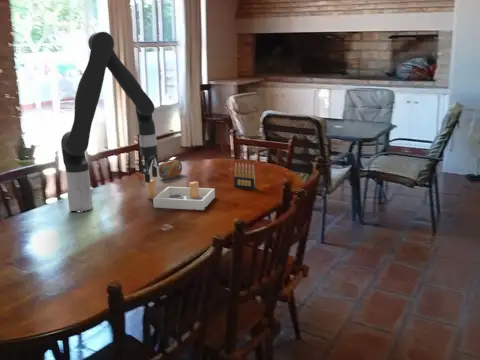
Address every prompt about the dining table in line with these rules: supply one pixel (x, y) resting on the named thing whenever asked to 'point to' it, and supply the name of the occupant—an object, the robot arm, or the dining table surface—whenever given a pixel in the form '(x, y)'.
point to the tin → (170, 169)
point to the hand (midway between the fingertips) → (151, 179)
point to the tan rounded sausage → (151, 189)
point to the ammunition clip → (244, 176)
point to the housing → (184, 197)
